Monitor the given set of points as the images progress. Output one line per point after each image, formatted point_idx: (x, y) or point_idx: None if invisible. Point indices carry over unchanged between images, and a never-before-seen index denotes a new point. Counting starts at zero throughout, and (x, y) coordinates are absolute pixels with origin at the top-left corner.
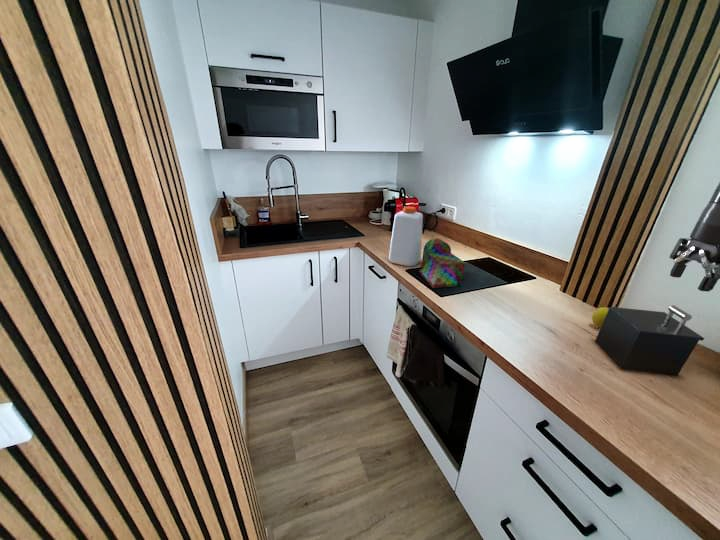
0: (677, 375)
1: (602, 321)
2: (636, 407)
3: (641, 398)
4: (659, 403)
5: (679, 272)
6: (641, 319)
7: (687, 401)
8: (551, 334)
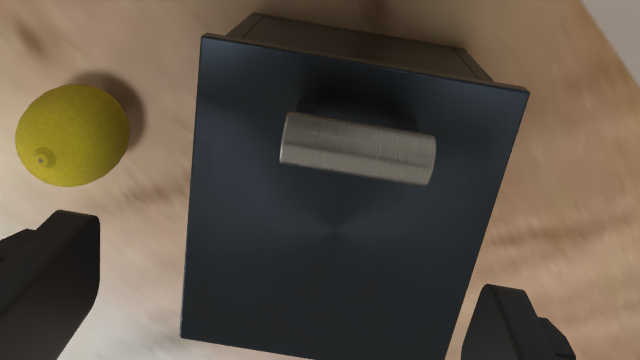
0: (464, 50)
1: (117, 163)
2: (584, 335)
3: (554, 292)
4: (582, 254)
5: (63, 281)
6: (320, 282)
7: (591, 149)
8: (202, 352)
